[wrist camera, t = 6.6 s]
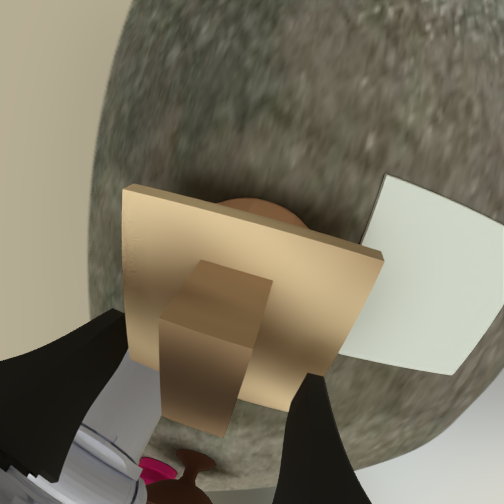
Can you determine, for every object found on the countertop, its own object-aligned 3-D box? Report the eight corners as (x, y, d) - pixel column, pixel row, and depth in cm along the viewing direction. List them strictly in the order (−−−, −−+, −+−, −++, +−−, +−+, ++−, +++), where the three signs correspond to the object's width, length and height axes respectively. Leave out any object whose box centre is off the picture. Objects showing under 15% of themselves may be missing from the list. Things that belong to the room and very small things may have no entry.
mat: (451, 371, 18) (452, 375, 18) (315, 343, 19) (315, 347, 19) (532, 241, 12) (535, 243, 12) (385, 173, 13) (386, 175, 13)
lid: (301, 403, 15) (291, 470, 12) (136, 350, 16) (99, 404, 12) (380, 251, 11) (406, 328, 7) (133, 183, 11) (59, 224, 8)
